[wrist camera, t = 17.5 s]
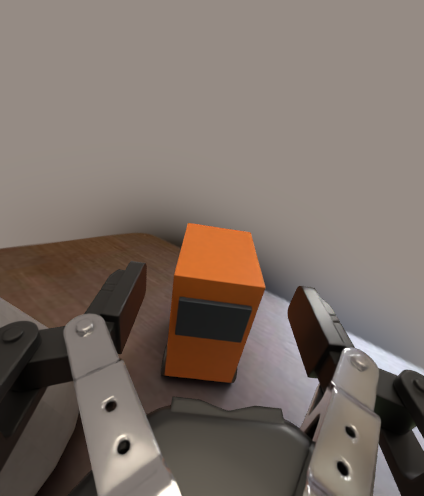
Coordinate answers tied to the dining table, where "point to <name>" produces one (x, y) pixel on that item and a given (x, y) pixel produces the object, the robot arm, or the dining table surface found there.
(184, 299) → the toy van
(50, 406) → the coffee pot
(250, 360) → the dining table surface
